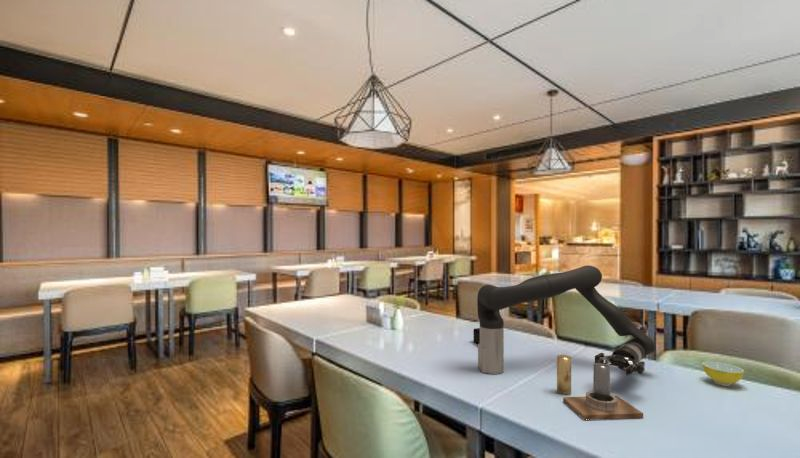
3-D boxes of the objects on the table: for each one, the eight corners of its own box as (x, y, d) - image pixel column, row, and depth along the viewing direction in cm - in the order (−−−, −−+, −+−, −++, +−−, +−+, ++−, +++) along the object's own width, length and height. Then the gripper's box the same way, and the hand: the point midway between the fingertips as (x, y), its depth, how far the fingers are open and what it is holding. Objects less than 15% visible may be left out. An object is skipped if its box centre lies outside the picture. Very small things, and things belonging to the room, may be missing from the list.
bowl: (733, 380, 140) (733, 363, 140) (750, 392, 129) (750, 374, 129) (697, 376, 144) (696, 359, 144) (710, 387, 133) (710, 370, 133)
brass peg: (561, 395, 126) (561, 359, 126) (554, 389, 131) (554, 355, 131) (573, 395, 127) (573, 359, 127) (566, 389, 131) (566, 354, 131)
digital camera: (471, 343, 186) (471, 328, 186) (480, 341, 188) (480, 327, 189) (485, 349, 177) (485, 333, 177) (494, 347, 179) (494, 332, 179)
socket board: (584, 420, 109) (584, 406, 110) (563, 401, 121) (563, 389, 121) (643, 418, 111) (643, 404, 111) (616, 400, 123) (616, 387, 123)
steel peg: (598, 408, 114) (599, 368, 114) (590, 401, 118) (590, 363, 118) (613, 407, 114) (613, 367, 114) (603, 401, 119) (604, 362, 119)
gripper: (605, 342, 140) (589, 351, 129) (650, 350, 130) (637, 362, 119) (605, 362, 140) (589, 373, 129) (650, 372, 130) (637, 386, 119)
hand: (612, 368), depth 124 cm, fingers open, 8 cm apart
